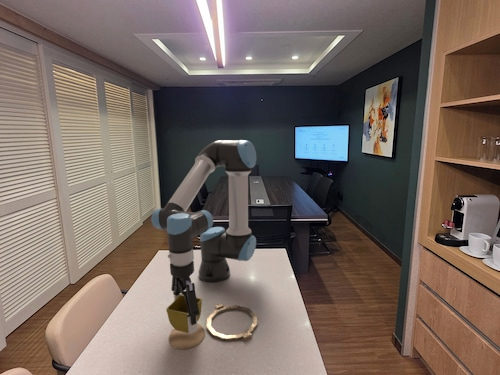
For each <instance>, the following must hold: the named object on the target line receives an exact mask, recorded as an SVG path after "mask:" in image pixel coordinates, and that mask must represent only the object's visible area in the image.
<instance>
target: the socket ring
mask: <svg viewBox="0 0 500 375" xmlns="http://www.w3.org/2000/svg"><path fill="white" fill-rule="evenodd" d="M228 311H239V312H240V311H241V312H242V313H243V312H244V313H246V314H247V315H248V316H250V318H251V320H252V324H251V325H250V326H249V328H248V329H246V330H244V331H242V332H240V333H238V334H229V335H227V334H224V333H221V332H217V331H216V330H215V329H214V328H213V326H212V323H213V322H212V321H213V320H214V319H215V318H216V317H217V316H218V315H220V314H222V313H224V312H228ZM206 319H207V320H206V331H208V333H209V334H210V335H211V337H213V338H215V339H217V340H220V341H223V342H233V341H234V342H235V341H241V340H242V341H243V342H244V343H245V342H247V341H249V340H251V339H252V338H253V336H252V334H253V332H254V331H255V330H256V329H257V326H258V320H257V314H256V313H255V312H254V311H253V310H251V309H250V307H245V306H243V305H238V304H237V305H236V304H234V305H225V306H224V304H223V303H219V304H216V305H214V310H213V312H211V314H210V315H209V316H208V317H207V318H206Z"/></svg>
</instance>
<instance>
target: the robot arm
mask: <svg viewBox="0 0 500 375" xmlns="http://www.w3.org/2000/svg"><path fill="white" fill-rule="evenodd" d="M194 162H195V163H194V164H193V166H192V167H191V169H190V170H189V172H188V173H187V174H186V176H185V177H184V179H183V180H182V182H181V183H180V184H179V186H178V187H177V189H176V190H175V192H174V193H173V195H172V196H171V197H170V198H169V200H168V202H167V203H166V205H165V206H164V207H163V208H162V207H161V208H157V209H156V210H154V211H153V212H152V215H151V218H150V220H151V224H152V226H153V227H154V228H156V229H158V230H163V231H166V234H167V240H168V254H167V258H168V259H169V262H170V264H169V269H170V275H171V276H172V279H171V291H172V295H173V297H174V298H173V299H174V300H173V302H174V301H175V300H176V299H177V298H178V297H179V296H180V295H184V298H185V302H186V306H187V310H188V314H187V317H188V331H189V334H191V333H193V332H196V331H197V324H198V322H197V315H200V316H201V314H200V312H199V308H198V303H197V298H198V297H197V295H196V294H197V293H196V287H195V286H196V285H195V282H192V280H191V277H190V276H192V274H193V273H194V272H195V261H194V258H195V257H194V248H193V247H194V246H193V239H195V238H197V237H198V236H199V239H200V240H199V242H200V254H201V256H200V257H201V262H200V265H199V269H198V278H199V279H200V280H201V281H203V282H206V283H217V282H221V281H224V280H226V279H227V278H229V277H230V276H231V270H230V269H231V268H230V266H229V264H228V262H227V259H230V260H234V261H235V260H236V261H239V262H240V261H242V262H248V261H250V260H251V259H252V257H253V255H254V253H255V251H256V248H257V247H256V246H257V238H256V236H254V235H252V229H251V228H250V227H249V174H251V173H252V168H254V167H255V166H256V164H257V152H256V148H255V146H254V144H253V143H252V142H251V141H249V140H245V139H244V140H243V139H239V140H238V139H236V140H235V139H233V140H223V139H222V140H216V141H213V142H211V143H210V144H208V145H207V146H205V147H204V148H203V149H202V150H201V151H200V152H199V153H198V154H197V156H196V157H195V160H194ZM218 167H221V168H222V167H224V172H225V173H226V174H227V175H228V225H229V226H228V228H227V229H226V230H225V227H223V226H214V227H213V225H214V217H213V215H212V214H211V212H209V211H208V210H205V209H202V210H198V211H195V212H192V211H188V209H189V207H190V206H191V204H192V203H193V201H194V199H195V198H196V196H197V194H198V193H199V191H200V189H201V188H202V187H203V185H204V183H205V181H206V180H207V178H208V177H209V175H210V174H211V173H213V172H215V170H216V169H217V168H218Z"/></svg>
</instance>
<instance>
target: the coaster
mask: <svg viewBox="0 0 500 375" xmlns="http://www.w3.org/2000/svg"><path fill="white" fill-rule="evenodd" d="M205 336H206V331H205V328H204V326H202V325H201V324H199V323H197V331H196V332H193V333H191V334H189V333H186V332H182V331H177V330H176V329H174V328H173V329H172V330H171V331H170V332H169V336H168V341H169V342H168V343H169V344H170V346H171V347H173V348H175V349H177V350H188V349H193V348H195V347H197V346H198V345H200V344H201V343H202V342H203V340H204V338H205Z"/></svg>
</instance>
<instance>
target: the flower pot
mask: <svg viewBox="0 0 500 375" xmlns="http://www.w3.org/2000/svg"><path fill="white" fill-rule="evenodd" d="M196 298H197V303H198V308H199V312H200V315H197V323H198V321H199V320H200V318H201V314H202V307H203V305H202V304H203V302H202V301H203V299H202V298H201V297H200V298H199V297H196ZM165 311H166V314H167V316H168V317H167V318H168V321H169V323H170V326H171V327H172V328H173V330H174V329H176V330H177V331H182V332H186V333H189V331H188V317H187V314H188V310H187V306H186V302H185V298H184V295H180V296H179V297H178V298H177V299H176V300H175V301H174V300H173V302H172V303H171V304H170V305H168V306H167V307H166V310H165Z"/></svg>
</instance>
